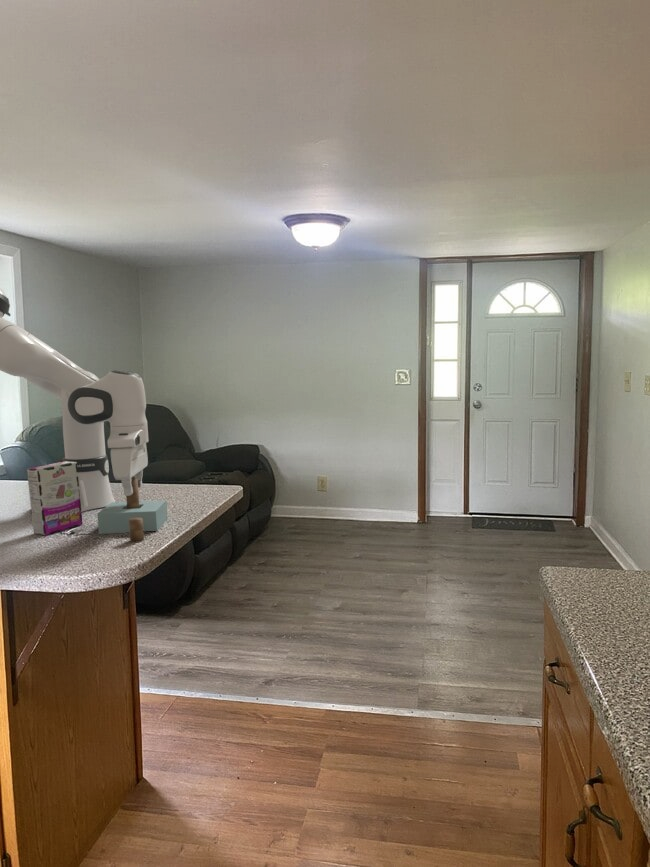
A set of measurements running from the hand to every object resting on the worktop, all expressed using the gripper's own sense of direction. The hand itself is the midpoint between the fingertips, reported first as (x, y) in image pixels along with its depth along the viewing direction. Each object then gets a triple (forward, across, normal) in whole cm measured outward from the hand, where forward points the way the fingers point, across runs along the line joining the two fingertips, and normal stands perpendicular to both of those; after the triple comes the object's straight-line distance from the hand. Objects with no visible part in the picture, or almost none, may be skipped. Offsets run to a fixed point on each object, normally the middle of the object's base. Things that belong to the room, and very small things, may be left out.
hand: (133, 491), depth 163 cm
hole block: (+9, 0, 0) cm, 9 cm away
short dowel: (+9, +13, +4) cm, 16 cm away
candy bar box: (+9, 0, -19) cm, 21 cm away
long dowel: (+9, 0, 0) cm, 9 cm away
